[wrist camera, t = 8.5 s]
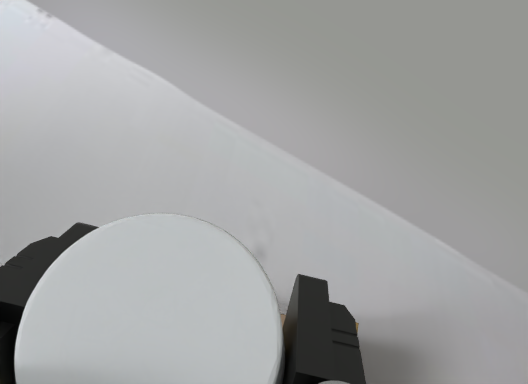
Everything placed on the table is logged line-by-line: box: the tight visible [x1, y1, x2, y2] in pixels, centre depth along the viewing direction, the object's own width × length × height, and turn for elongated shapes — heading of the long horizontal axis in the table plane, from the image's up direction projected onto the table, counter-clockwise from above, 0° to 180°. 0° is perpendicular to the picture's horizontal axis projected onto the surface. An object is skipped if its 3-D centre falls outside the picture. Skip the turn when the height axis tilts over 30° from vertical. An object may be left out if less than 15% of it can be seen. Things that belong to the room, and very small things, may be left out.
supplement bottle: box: [14, 213, 285, 384], centre depth 11 cm, size 5×5×8 cm
